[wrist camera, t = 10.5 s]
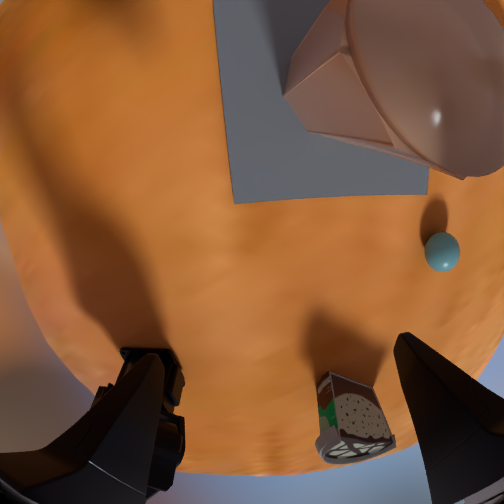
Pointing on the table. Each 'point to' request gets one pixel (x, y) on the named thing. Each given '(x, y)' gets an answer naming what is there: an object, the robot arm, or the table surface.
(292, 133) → the slate mat
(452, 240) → the ball
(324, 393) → the food container
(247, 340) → the table surface
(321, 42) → the brown piece
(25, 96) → the table surface
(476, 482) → the robot arm
